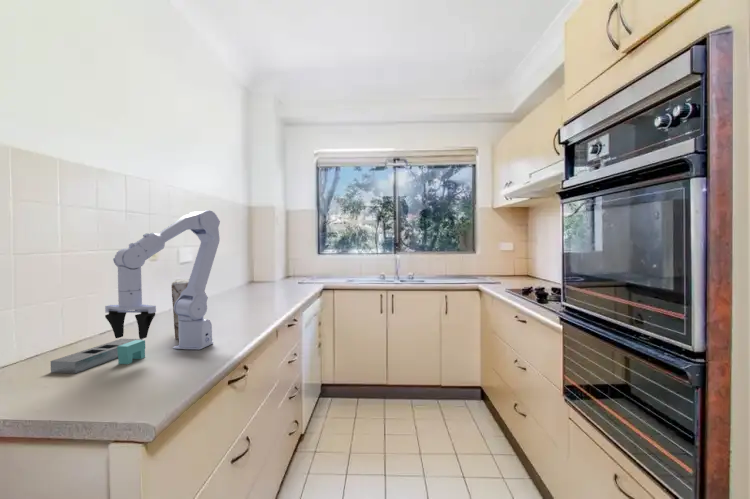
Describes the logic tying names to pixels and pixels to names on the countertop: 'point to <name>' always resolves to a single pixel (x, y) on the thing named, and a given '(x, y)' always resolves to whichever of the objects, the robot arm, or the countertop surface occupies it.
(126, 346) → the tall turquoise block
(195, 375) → the countertop surface
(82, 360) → the rail
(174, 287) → the stone block
